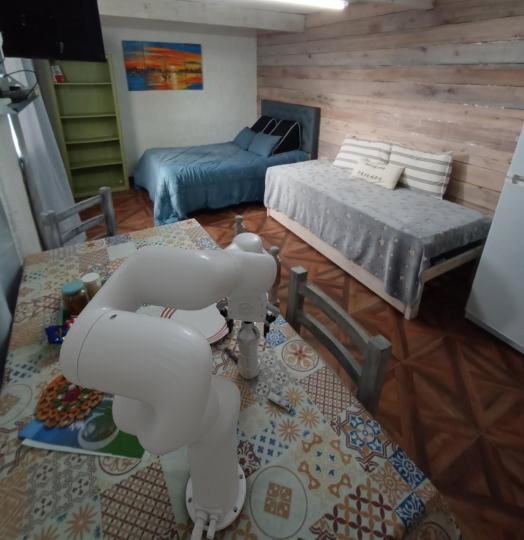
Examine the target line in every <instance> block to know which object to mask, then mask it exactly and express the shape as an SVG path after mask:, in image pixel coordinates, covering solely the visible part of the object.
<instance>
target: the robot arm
mask: <svg viewBox="0 0 524 540" xmlns="http://www.w3.org/2000/svg"><path fill="white" fill-rule="evenodd" d="M277 273H278V264H277V261H276V259H275V257H274V256H273V255H272V254H267V253H263V241H262V238H261V237H260V236H259V235H258V234H256V233H253V232H242V233H238V234H237V235H235V236H234V237H233V239H232V241H231V243H230V244H229V245H227V246H226V247H225V248H223V249H220V248H219V249H218V248H217V249H190V248H182V247H181V248H180V247H172V246H164V245H157V244H147V245H144V246H141V247H139V248H138V249H137V248H136V250H134V251H133V252H132V253H131V254H130V255H129V256H127V257H126V258H125V260H123V261H122V262H121V263H120V265H119V266H118V267H117V268H116V269H115V270H114V271H113V273H111V275H110V276H109V277H108V278H107V280H106V281H105V282H104V284H102V286H101V287H100V288H99V289H98V291H97V292H96V293H95V295H94V296H93V297H92V298H91V300H89V302H88V303H87V304H86V305H85V307H84V308H83V309H82V310H81V312H80V313H79V314H78V315H77V317H76V318H75V319H74V321H73V323H72V324H71V326H70V327H69V329H68V331H67V332H66V335H65V336H64V338H63V341H62V344H61V347H60V350H59V356H58V357H59V359H58V363H59V369H60V372H61V373H62V376H63V377H64V378H65V379H66V380H67V381H68V382H69V383H71V384H73V385H76V386H78V387H81V388H85V389H88V390H92V391H97V392H101V393H105V394H109V395H113V399H112V405H111V414H112V421H113V423H114V425H115V427H116V428H117V429H118V430H119V431H121V432H123V433H125V434H128V435H131V436H136V438H137V441H138V443H139V444H140V446H141V447H142V448H143V450H145V451H146V452H147V453H149V454H152V455H155V456H164V455H168V454H171V453H173V452H174V451H175V452H176V451H178V450H179V449H181V448H183V447H185V446H186V451H187V452H186V453H187V457H188V458H187V460H188V464H189V465H188V466H189V474H190V476H189V478H188V481H187V485H186V489H185V505H186V510H187V513H188V515H189V517H190V519H191V521H192V522H193V524H194V526H193V529H192V530H191V531H192V533H191V535H190V540H202V538H203V532H204V531H206V532H207V533H206V539H207V540H214V537H215V533H216V532H219V531H221V530H224V529H226V528H228V527H229V526H230V525H231V524H232V523H234V521H236V519H237V518H238V517H239V515H240V513H241V511H242V509H243V507H244V505H245V501H246V497H247V496H246V495H247V479H246V475H245V472H244V470H243V468H242V466H241V465H240V463H239V456H238V455H239V454H238V422H239V416H240V411H241V403H242V402H241V400H242V398H241V397H242V396H241V391H240V387H239V386H238V384H237V383H235V382H234V381H233V380H232V379H230V378H229V377H225V376H222V375H219V374H214V373H213V372H214V371H213V370H214V357H213V352H212V347H211V344H209V342H208V341H207V339H206V338H205V336H204V335H203V334H202V333H201V332H200V331H199V330H197V329H196V328H194V327H193V326H191V325H188V324H186V323H184V322H181V321H177V320H174V319H169V318H163V317H158V316H156V315H151V314H145V313H141V312H137V311H138V309H139V307H140V306H141V305H149V306H156V307H162V308H164V307H167V308H173V309H179V310H186V311H196V310H201V309H204V308H206V307H208V306H210V305H212V304H214V303H216V302H217V304H216V307H217V309H218V310H219V311H220V314H221V315H222V316H223V317H224V318H225V321H227V328H228V329H229V332H228V334H232V332H233V329H234V326H235V323H234V320H236V321H249V322H255V323H263V333H262V334H263V336H262V337H263V338H267V335H268V334H269V333H270V330H271V324H272V323H273V322H276V320H277V319H278V317H279V316H280V314H281V308H279V307H277V306H275V305H274V304H272V303H270V302H268V295H267V293H268V292H269V291H270V290H271V289H272V287H273V286H274V284H275V282H276V279H277ZM225 297H228V299H225V300H222V301H219V300H221V299H223V298H225ZM218 301H219V302H218ZM225 306H228V310H227V309H226V308H224V307H225ZM269 312H271V314H270V313H269ZM235 511H236V512H235Z"/></svg>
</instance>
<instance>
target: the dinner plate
mask: <svg viewBox="0 0 524 540" xmlns="http://www.w3.org/2000/svg"><path fill="white" fill-rule="evenodd" d="M225 299H228V297H225V298H223V299H221V300H219V301H222V300H225ZM219 301H218V302H219ZM216 304H217V302H216V303H214V304H212V305H210V306H208V307H206V308H204V309H201V310H196V311H186V310H179V309H173V308H167V307H162V310H161V311H160V313H159V314H158V316H157V317H163V318H169V319H174V320H177V321H181V322H184V323H186V324H188V325H191V326H193V327H194V328H196V329H197V330H199V331H200V332H201V333H202V334H203V335H204V336H205V338H206V339H207V341H208V342H209V344H210V345H211V344H214V343H216V342H218V341H219V340H221V339H222V338H224V337H225V336H226V335H227V334H229V329H228V328H227V321H225V318H224V317H223V316H222V315H221V314H220V311H219V310H218V309H217V307H216ZM224 308H226V309H227V310H228V306H225V307H224ZM236 321H237V320H234V324H236Z"/></svg>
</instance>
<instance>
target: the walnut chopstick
mask: <svg viewBox="0 0 524 540" xmlns="http://www.w3.org/2000/svg"><path fill="white" fill-rule="evenodd" d="M224 351H225V352H226V353H227V354H228V355H229V356H230V357H231V358H232V359H233V360H234V361H235V362H236V363H237V364H238V360H239V357H237V356H236V354H235V353H233V351H231V350H230V349H229V348H228V347H224Z"/></svg>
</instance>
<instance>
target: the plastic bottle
mask: <svg viewBox="0 0 524 540" xmlns="http://www.w3.org/2000/svg"><path fill="white" fill-rule="evenodd" d="M240 321H241V320H240ZM235 336H236V341H237V345H238V359H239V360H238V363H237V370H238V374H239V375H240V377H242V378H244V379H246V380H253V379H255V378H256V377H258V375H259V374H260V372H261V367H262V365H261V361H260V356H259V343H260V339H261V338H260V337H261V333H260V330H259V328H258V327H257V325H256V322H249V321H241V322H240V326H239V327H238V328H237V330H236V334H235Z"/></svg>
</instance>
